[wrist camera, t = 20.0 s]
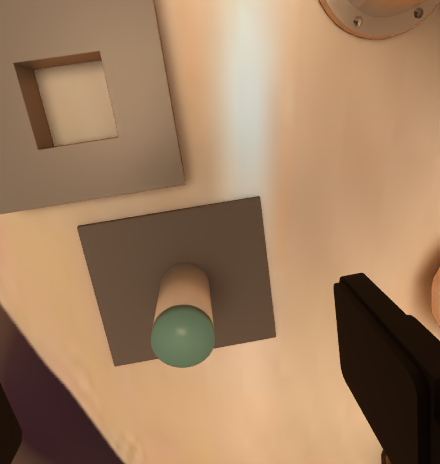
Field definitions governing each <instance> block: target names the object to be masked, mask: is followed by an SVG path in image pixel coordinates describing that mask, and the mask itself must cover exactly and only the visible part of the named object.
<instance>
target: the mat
mask: <svg viewBox="0 0 440 464" xmlns="http://www.w3.org/2000/svg"><path fill="white" fill-rule="evenodd" d="M77 229H78V233H79V237H80V240H81V244H82V248H83V251H84V255H85V259H86V262H87V266H88V270H89V274H90V277H91V281H92V285H93V288H94V292H95V296H96V299H97V303H98V307H99V310H100V314H101V318H102V322H103V325H104V329H105V333H106V336H107V340H108V344H109V347H110V351H111V355H112V359H113V362H114V366H120V365H126V364H131V363H137V362H142V361H148V360H153V359H159V358H158V357H157V356H156V355H155V353H154V352H153V349H152V346H151V334H152V328H153V323H154V317H155V312H156V306H157V301H158V296H159V290H160V285H161V280H162V277H163V275H164V273H165V272H166V271H167V270H168V269H169V268H170V267H172V266H174V265H177V264H180V263H190V264H194V265H196V266H198V267H200V268H201V269H202V270H203V271H204V272H205V273H206V275H207V277H208V280H209V288H210V297H211V307H212V316H213V326H214V335H215V343H214V347H213V348H219V347H224V346H230V345H235V344H241V343H246V342H252V341H257V340H263V339H268V338H274V337H276V332H275V323H274V314H273V306H272V297H271V288H270V280H269V271H268V262H267V254H266V245H265V236H264V227H263V219H262V210H261V201H260V197H259V196H258V197H252V198H245V199H239V200H233V201H227V202H221V203H215V204H209V205H203V206H197V207H190V208H184V209H178V210H172V211H166V212H160V213H154V214H148V215H142V216H135V217H129V218H123V219H117V220H111V221H105V222H99V223H93V224H87V225H80V226H78V227H77Z"/></svg>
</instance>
